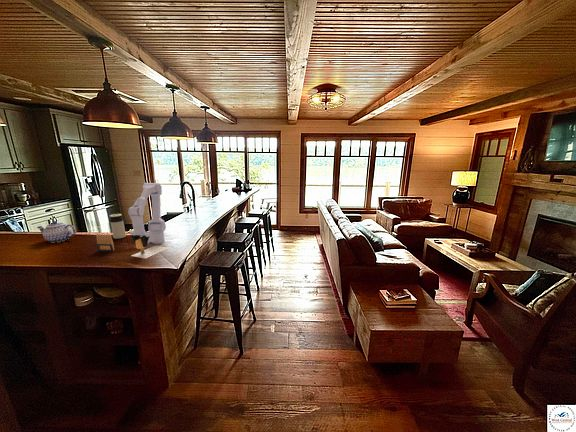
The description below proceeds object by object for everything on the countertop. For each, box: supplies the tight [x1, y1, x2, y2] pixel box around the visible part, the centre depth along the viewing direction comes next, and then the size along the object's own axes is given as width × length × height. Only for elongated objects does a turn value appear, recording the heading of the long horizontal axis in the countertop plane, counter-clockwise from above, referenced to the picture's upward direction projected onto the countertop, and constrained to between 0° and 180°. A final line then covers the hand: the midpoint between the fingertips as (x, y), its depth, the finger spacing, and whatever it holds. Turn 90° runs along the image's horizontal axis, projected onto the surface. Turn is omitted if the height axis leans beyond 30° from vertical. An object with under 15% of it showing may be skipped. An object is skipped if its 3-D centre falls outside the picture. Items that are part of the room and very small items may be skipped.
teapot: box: [36, 220, 77, 244], centre depth 168 cm, size 25×15×15 cm, turn 93°
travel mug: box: [109, 213, 127, 240], centre depth 176 cm, size 8×8×18 cm
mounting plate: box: [131, 245, 168, 259], centre depth 148 cm, size 12×18×5 cm, turn 162°
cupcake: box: [135, 239, 147, 250], centre depth 143 cm, size 6×6×5 cm
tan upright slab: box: [96, 233, 116, 253], centre depth 151 cm, size 11×2×12 cm, turn 87°
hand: (141, 246), depth 144 cm, fingers closed on cupcake, 5 cm apart
